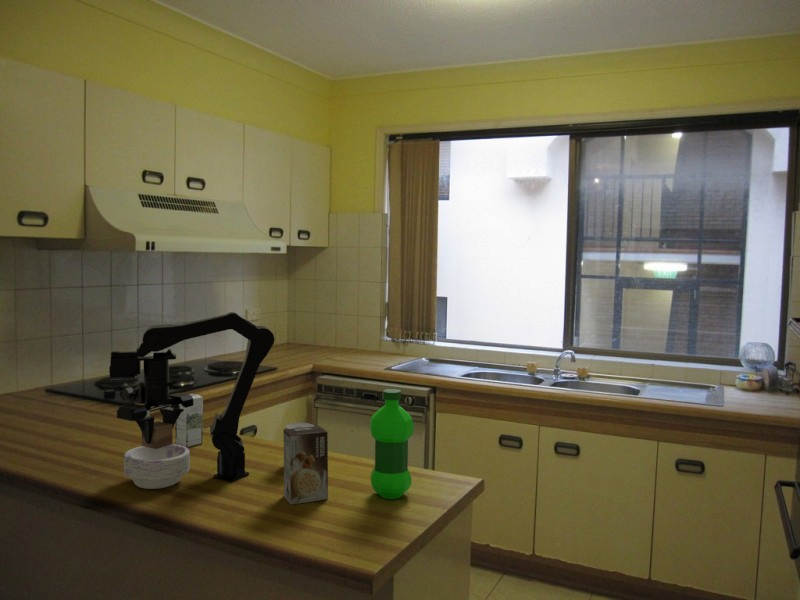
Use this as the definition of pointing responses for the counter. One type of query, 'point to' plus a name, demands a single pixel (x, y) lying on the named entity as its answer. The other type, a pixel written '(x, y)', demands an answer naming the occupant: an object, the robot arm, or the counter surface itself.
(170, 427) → the walnut block
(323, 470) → the coffee box
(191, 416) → the syrup box
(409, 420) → the plastic bottle
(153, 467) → the paper bowls
